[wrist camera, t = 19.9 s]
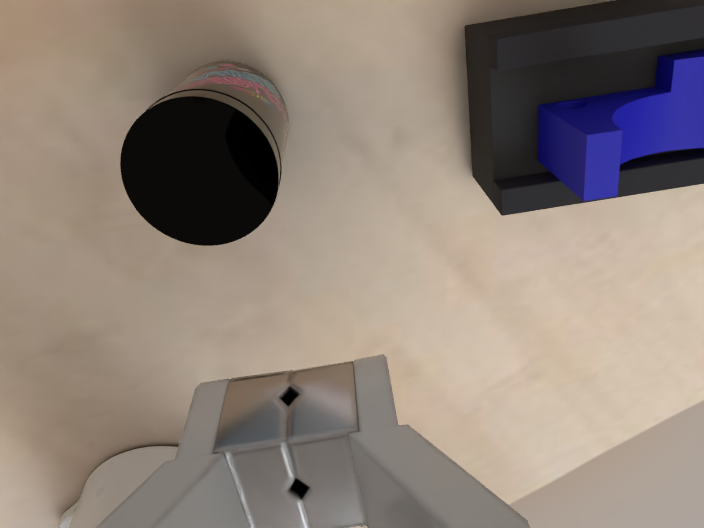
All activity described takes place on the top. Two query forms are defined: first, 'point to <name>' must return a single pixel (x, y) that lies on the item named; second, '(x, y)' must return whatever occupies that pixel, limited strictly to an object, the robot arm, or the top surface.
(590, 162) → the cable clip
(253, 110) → the supplement container
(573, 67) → the inspection stand
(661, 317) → the top surface
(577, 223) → the top surface
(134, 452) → the robot arm
